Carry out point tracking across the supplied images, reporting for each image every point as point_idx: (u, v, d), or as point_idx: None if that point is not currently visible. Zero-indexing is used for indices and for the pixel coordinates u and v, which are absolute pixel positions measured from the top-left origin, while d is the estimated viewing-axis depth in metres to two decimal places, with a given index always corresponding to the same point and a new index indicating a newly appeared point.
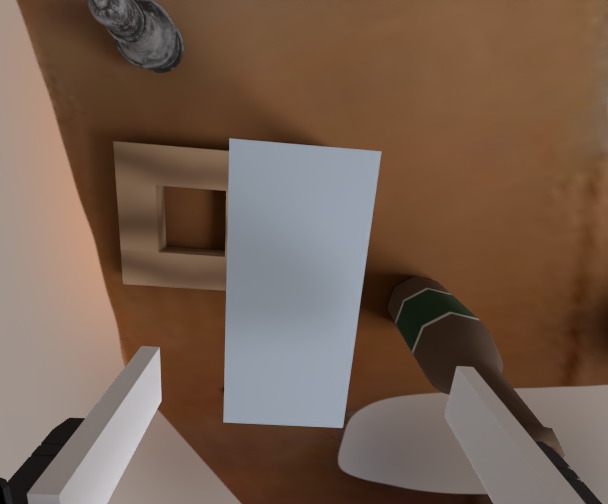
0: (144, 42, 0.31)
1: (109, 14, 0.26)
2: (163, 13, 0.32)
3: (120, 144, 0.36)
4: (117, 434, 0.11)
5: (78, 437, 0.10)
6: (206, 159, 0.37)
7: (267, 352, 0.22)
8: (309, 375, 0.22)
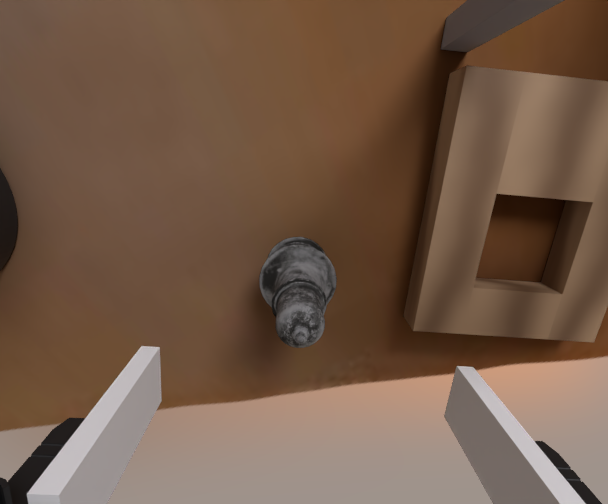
0: (317, 283, 0.24)
1: (315, 325, 0.19)
2: (276, 257, 0.25)
3: (417, 323, 0.29)
4: (117, 434, 0.11)
5: (78, 437, 0.10)
6: (449, 218, 0.26)
7: None
8: None
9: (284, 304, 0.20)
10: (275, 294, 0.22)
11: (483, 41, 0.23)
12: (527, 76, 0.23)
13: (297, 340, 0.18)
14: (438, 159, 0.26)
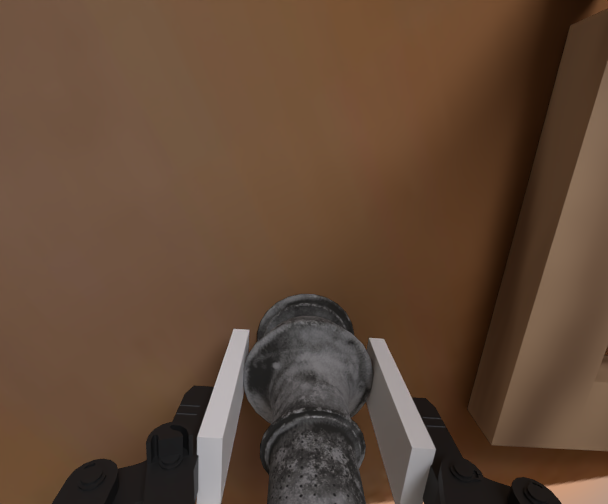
0: (343, 398, 0.13)
1: None
2: (271, 342, 0.15)
3: (499, 433, 0.18)
4: (236, 399, 0.13)
5: (216, 398, 0.12)
6: (566, 272, 0.15)
7: None
8: None
9: (283, 488, 0.09)
10: (267, 436, 0.12)
11: None
12: None
13: None
14: (545, 172, 0.16)
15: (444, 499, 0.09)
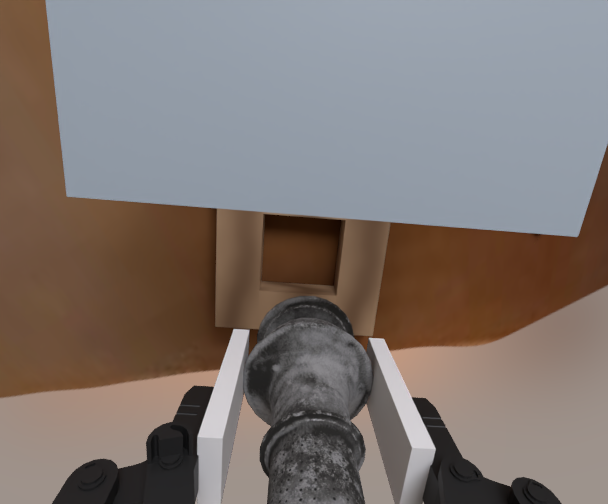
0: (343, 400, 0.13)
1: None
2: (270, 344, 0.15)
3: (217, 320, 0.34)
4: (236, 399, 0.13)
5: (216, 398, 0.12)
6: (227, 233, 0.32)
7: (445, 148, 0.12)
8: (509, 61, 0.11)
9: (283, 491, 0.09)
10: (267, 439, 0.11)
11: None
12: None
13: None
14: None
15: (444, 499, 0.09)
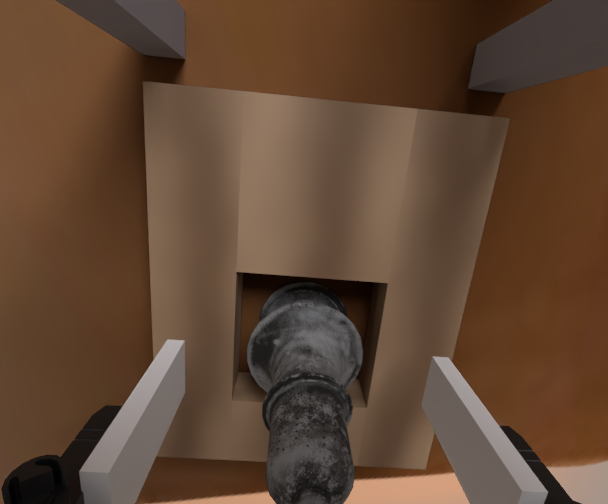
0: (335, 368, 0.15)
1: (338, 486, 0.10)
2: (272, 321, 0.17)
3: (161, 446, 0.20)
4: (151, 420, 0.12)
5: (119, 422, 0.11)
6: (172, 306, 0.17)
7: None
8: None
9: (282, 434, 0.11)
10: (268, 398, 0.13)
11: (159, 42, 0.14)
12: (245, 97, 0.15)
13: None
14: None
15: None
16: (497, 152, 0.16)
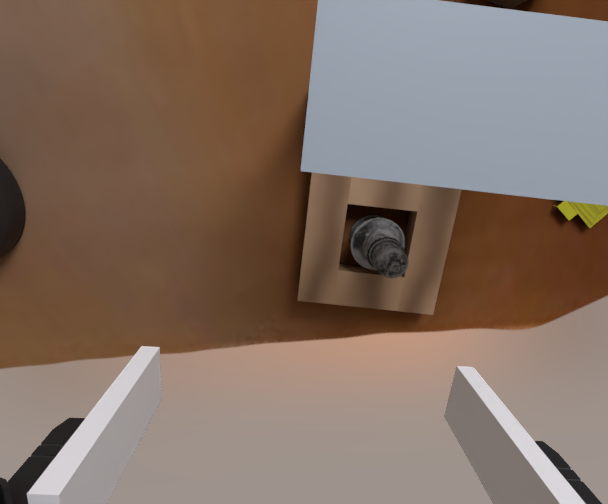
0: None
1: (403, 262, 0.30)
2: (364, 226, 0.37)
3: (300, 295, 0.40)
4: (117, 434, 0.11)
5: (78, 437, 0.10)
6: (316, 220, 0.38)
7: (560, 145, 0.17)
8: None
9: (381, 249, 0.31)
10: (370, 246, 0.33)
11: None
12: None
13: (394, 269, 0.29)
14: None
15: None
16: None
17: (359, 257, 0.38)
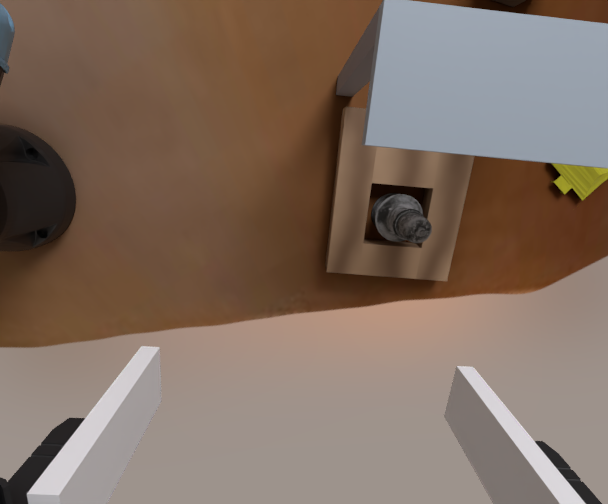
0: None
1: (428, 228, 0.35)
2: (387, 201, 0.41)
3: (329, 266, 0.45)
4: (117, 434, 0.11)
5: (78, 437, 0.10)
6: (343, 198, 0.42)
7: (567, 120, 0.22)
8: (604, 74, 0.21)
9: (408, 218, 0.36)
10: (396, 218, 0.38)
11: (354, 93, 0.39)
12: None
13: (421, 233, 0.34)
14: (337, 162, 0.42)
15: None
16: None
17: (383, 230, 0.42)
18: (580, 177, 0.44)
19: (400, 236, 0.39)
